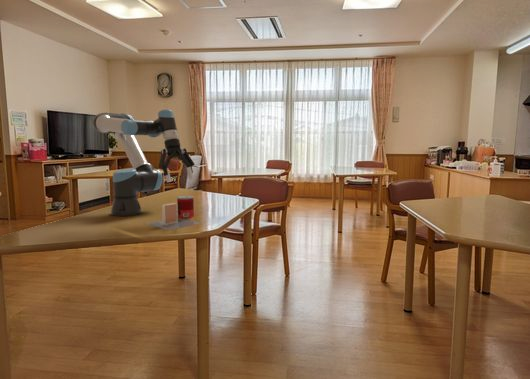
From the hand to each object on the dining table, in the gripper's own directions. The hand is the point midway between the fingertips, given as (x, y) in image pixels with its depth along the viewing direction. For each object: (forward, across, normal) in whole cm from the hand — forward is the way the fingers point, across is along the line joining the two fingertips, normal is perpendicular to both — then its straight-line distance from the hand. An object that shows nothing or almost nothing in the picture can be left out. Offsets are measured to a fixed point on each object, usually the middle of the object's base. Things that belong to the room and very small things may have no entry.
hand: (180, 180), depth 185 cm
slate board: (+22, -14, -6) cm, 27 cm away
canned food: (+19, 0, +2) cm, 19 cm away
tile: (+20, -15, -6) cm, 26 cm away
